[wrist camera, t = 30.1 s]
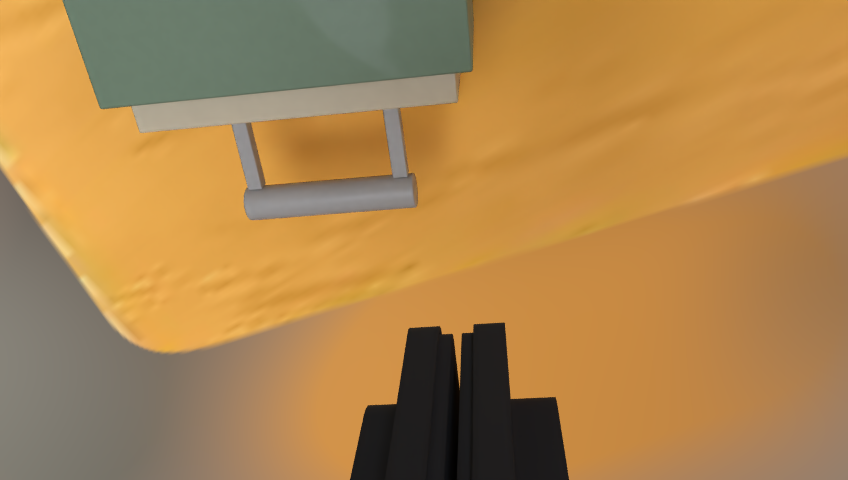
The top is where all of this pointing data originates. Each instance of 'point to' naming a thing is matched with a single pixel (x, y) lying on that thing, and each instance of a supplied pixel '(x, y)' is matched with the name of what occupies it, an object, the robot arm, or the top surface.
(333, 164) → the top surface
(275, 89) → the cabinet
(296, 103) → the drawer
